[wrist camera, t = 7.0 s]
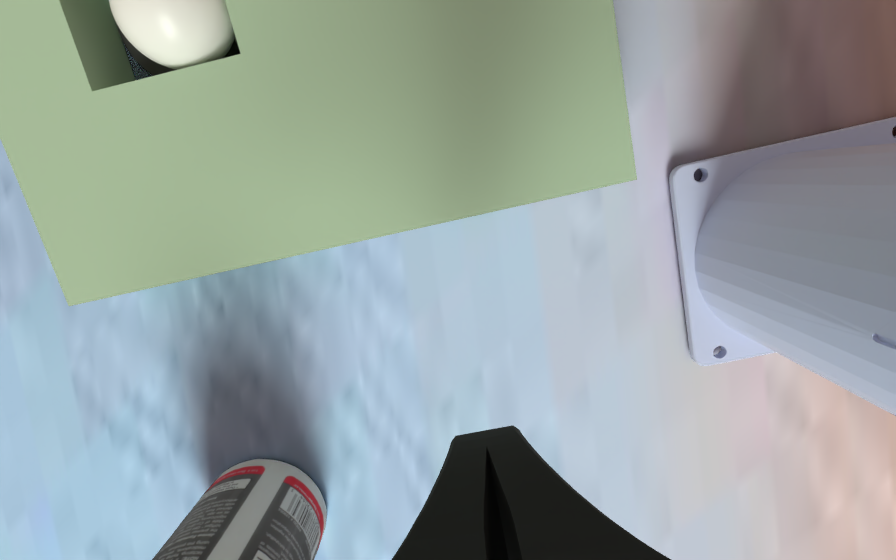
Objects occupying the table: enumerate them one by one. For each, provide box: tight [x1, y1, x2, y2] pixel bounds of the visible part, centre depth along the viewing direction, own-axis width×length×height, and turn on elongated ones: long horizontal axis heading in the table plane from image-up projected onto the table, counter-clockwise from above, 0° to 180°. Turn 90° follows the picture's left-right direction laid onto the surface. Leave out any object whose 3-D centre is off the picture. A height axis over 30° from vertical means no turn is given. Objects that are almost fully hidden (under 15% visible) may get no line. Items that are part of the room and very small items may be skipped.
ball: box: [109, 0, 235, 70], centre depth 15 cm, size 4×4×4 cm
